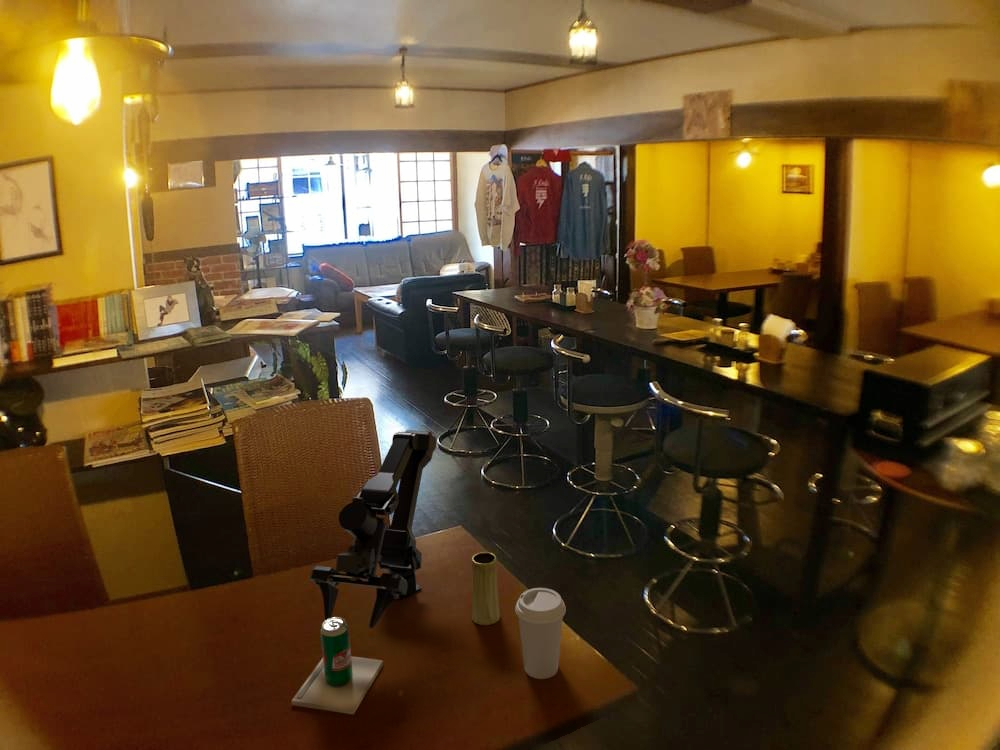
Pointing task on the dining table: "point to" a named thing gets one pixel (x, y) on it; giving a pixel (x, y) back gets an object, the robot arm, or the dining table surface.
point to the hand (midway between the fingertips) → (348, 625)
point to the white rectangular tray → (342, 697)
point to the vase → (485, 589)
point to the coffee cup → (540, 630)
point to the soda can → (336, 651)
